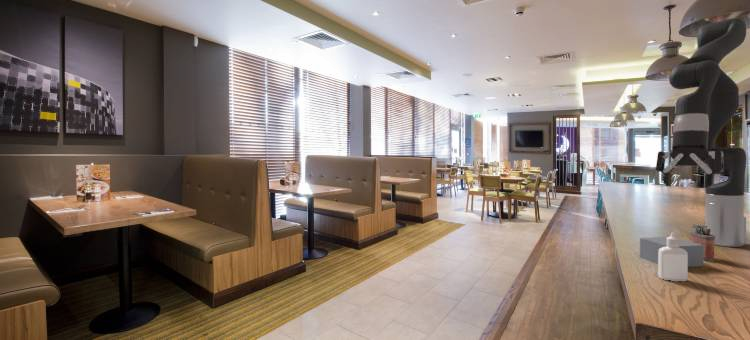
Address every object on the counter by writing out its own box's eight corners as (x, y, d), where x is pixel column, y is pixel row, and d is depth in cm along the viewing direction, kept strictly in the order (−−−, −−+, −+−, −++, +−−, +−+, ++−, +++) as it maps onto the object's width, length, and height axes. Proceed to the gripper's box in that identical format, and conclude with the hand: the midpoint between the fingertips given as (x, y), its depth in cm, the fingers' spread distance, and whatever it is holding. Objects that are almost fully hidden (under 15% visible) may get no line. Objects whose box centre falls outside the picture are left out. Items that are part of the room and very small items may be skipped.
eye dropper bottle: (686, 284, 83) (687, 236, 83) (657, 279, 87) (657, 233, 87) (687, 279, 86) (688, 233, 86) (659, 274, 90) (659, 230, 90)
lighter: (718, 262, 99) (719, 228, 98) (705, 261, 99) (705, 228, 99) (698, 254, 106) (698, 222, 106) (685, 253, 107) (686, 222, 107)
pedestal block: (670, 255, 106) (670, 236, 105) (703, 266, 96) (703, 245, 95) (640, 257, 105) (640, 238, 105) (669, 267, 95) (669, 246, 95)
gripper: (728, 131, 94) (725, 189, 93) (664, 134, 106) (661, 186, 105) (721, 127, 90) (717, 187, 89) (654, 131, 102) (651, 184, 101)
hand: (686, 187), depth 97 cm, fingers open, 8 cm apart
